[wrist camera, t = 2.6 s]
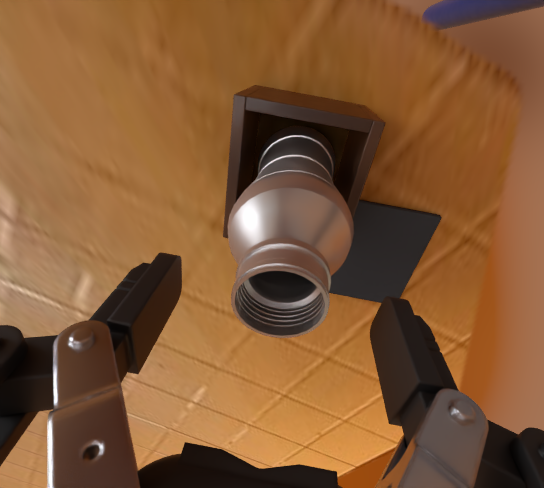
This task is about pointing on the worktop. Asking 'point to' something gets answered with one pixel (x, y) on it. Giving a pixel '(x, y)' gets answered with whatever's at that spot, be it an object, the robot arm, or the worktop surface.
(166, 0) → the worktop surface
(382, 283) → the mat
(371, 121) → the holder
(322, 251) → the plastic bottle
